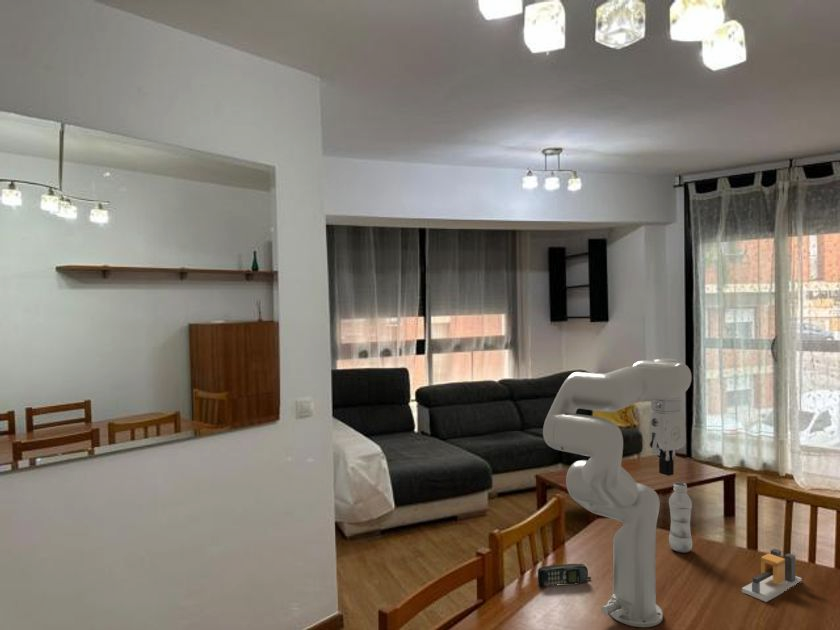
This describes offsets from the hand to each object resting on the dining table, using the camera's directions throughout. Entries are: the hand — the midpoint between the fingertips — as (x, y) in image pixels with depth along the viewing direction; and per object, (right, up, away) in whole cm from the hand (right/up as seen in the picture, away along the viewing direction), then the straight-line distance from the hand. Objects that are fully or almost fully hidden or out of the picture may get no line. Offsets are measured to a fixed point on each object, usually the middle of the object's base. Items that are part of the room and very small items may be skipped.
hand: (666, 473), depth 152 cm
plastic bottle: (+13, -29, +19) cm, 37 cm away
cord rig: (+26, -29, -3) cm, 39 cm away
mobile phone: (-27, -30, +1) cm, 40 cm away
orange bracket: (+27, -27, -3) cm, 38 cm away
